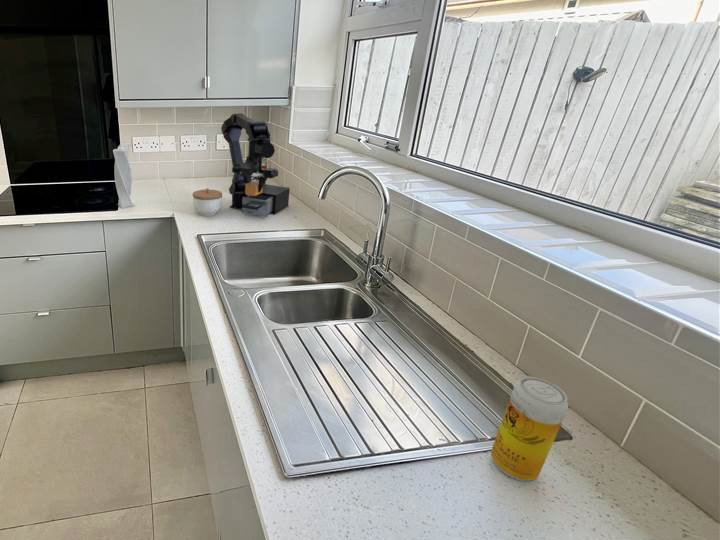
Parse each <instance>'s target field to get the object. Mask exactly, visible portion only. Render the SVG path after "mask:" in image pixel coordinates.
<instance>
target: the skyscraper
mask: <svg viewBox="0 0 720 540" xmlns="http://www.w3.org/2000/svg"><path fill="white" fill-rule="evenodd" d="M123 145H127V146H128V147H127V148H125V147H123ZM130 146H131V144H130V143H127V142H125V143H120V144H119V145H118V146H117V148H114V149H113V150H112V153H113V157H114V168H113V169H114V172H113V173H114V174H113V175H114V182H115V188H116V192H117V196H118V201H117V202H118V203H117V206H118V207H120V208H122V209H123V208H124V209H125V208H129V207H134V204H133V202H132V199H131V195H132V184H133V180H132V179H133V177H132V169H131V165H130V162H129V159H128V158H129V152H130Z"/></svg>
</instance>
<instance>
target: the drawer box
mask: <svg viewBox="0 0 720 540" xmlns="http://www.w3.org/2000/svg"><path fill="white" fill-rule="evenodd" d="M261 195H267V196H273V197H274V211H272V212H270V213H269V214H271V215H276V214H279V212H281V211H283V210H284V209H286V208H288V207H289V202H290V187H287V186H280V185H273V184H268V183H267V184H266V183H265V184H264V185H263V187H262V193H261Z"/></svg>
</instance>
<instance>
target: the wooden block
mask: <svg viewBox="0 0 720 540" xmlns="http://www.w3.org/2000/svg"><path fill="white" fill-rule="evenodd" d="M258 186H259V182H256V181H251V182H249V183H247V184H246V188H245V194H247V195H252V196H256V195H259V194H261V193H262V189H261V191H260V192H258Z"/></svg>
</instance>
